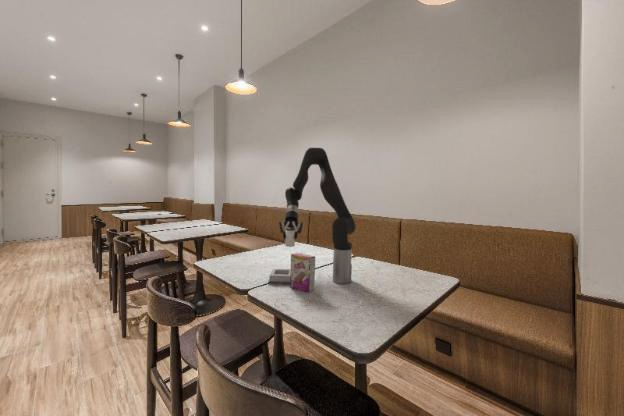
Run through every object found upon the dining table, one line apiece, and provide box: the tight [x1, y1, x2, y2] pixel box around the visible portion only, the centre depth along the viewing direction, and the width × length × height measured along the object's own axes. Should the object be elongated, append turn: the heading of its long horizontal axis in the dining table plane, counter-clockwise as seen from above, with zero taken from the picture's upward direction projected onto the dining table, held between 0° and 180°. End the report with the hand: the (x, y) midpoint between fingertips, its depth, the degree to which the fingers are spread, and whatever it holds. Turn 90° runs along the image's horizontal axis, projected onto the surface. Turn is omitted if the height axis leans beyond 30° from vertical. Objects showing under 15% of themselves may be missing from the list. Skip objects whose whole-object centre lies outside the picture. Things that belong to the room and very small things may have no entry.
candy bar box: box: [289, 252, 316, 293], centre depth 127 cm, size 11×5×16 cm, turn 58°
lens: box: [284, 227, 296, 248], centre depth 149 cm, size 5×5×10 cm
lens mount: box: [267, 268, 291, 286], centre depth 139 cm, size 12×12×4 cm
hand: (289, 238), depth 147 cm, fingers closed on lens, 5 cm apart
